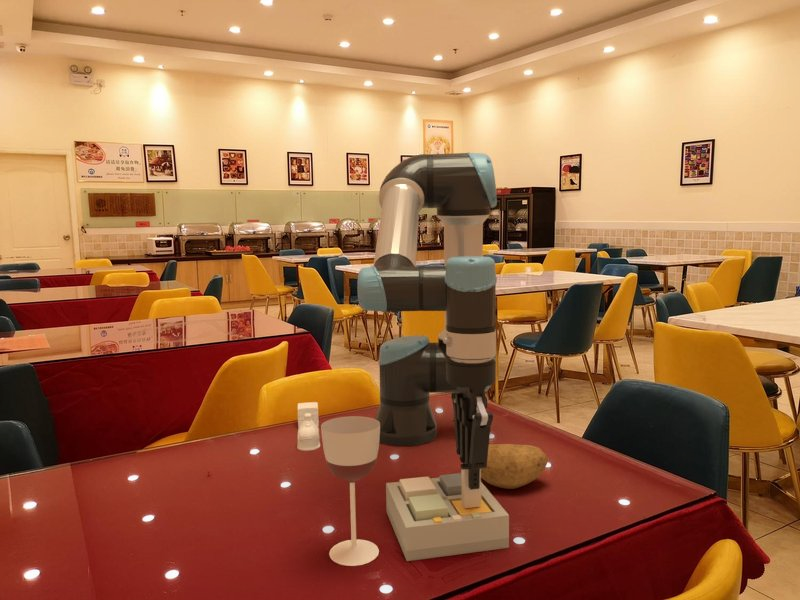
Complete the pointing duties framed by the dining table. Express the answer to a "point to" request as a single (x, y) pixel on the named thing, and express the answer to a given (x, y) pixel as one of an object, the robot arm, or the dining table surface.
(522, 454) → the potato
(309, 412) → the container set
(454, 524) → the keypad
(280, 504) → the dining table surface
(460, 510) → the key amber
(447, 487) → the key slate
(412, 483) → the key ivory
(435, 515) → the key sage
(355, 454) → the wineglass
